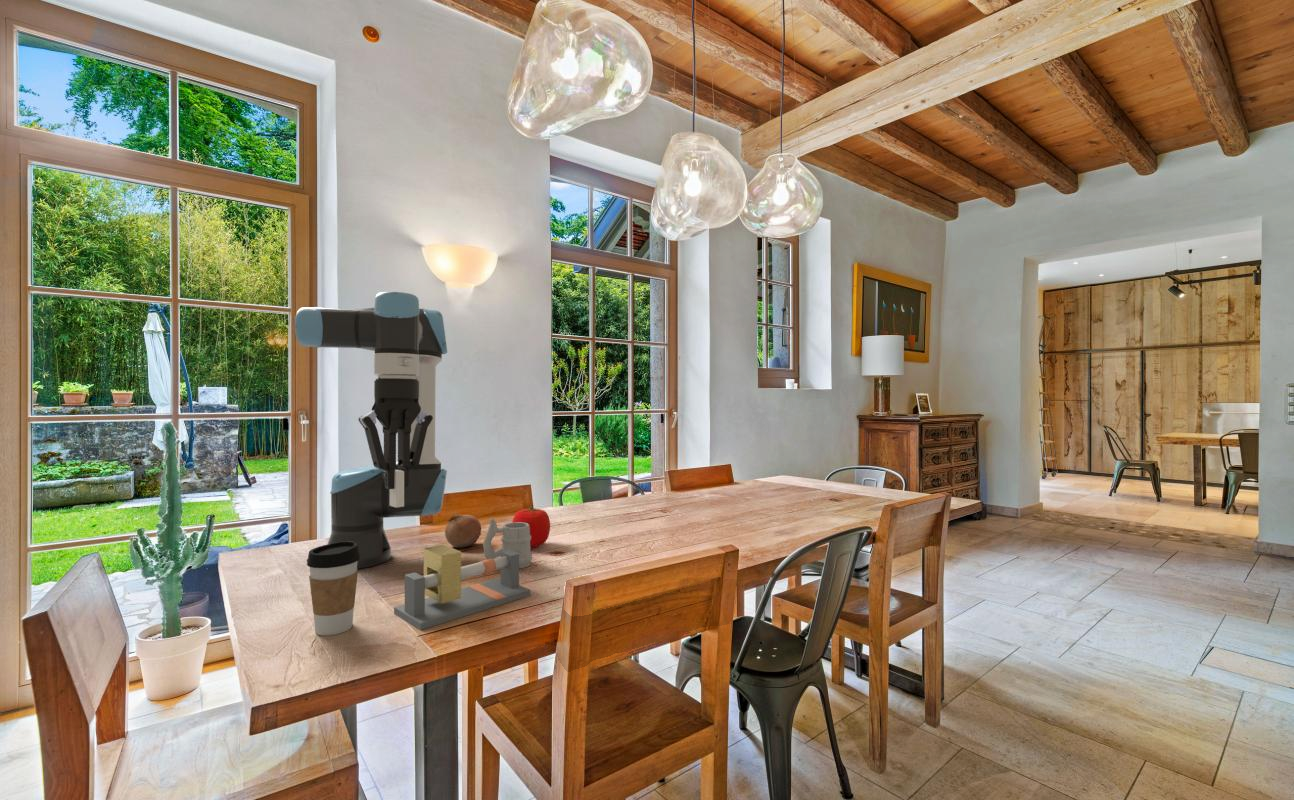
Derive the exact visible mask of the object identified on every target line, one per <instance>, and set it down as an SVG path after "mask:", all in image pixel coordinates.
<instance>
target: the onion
mask: <svg viewBox="0 0 1294 800" xmlns="http://www.w3.org/2000/svg"><path fill="white" fill-rule="evenodd" d="M446 522H447V524H446V526H445V531H444V535H445V539H446V541H447V542H448V543H449V545H451V546H452V547H454V548H455V549H456V548H457V549H460V548H461V549H463V548H470V547H472V546H474V545H475V544H476V543H477V542H478V540H479V538H480V536H481V534H482V525H481V522H480V520H479V519H478V518H477V517H476V516H474V515H472V514H455V515H453V516H451V517H450V519H448V520H447V521H446Z"/></svg>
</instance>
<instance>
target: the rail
mask: <svg viewBox="0 0 1294 800" xmlns="http://www.w3.org/2000/svg"><path fill="white" fill-rule="evenodd" d="M499 570H500V577H499V578H496V579H491V580H487V581H483V582H480V583H476V584H471V585H468V586H466V587H461V598H460V599H456V600H453V601H450V602H446V603H443V604H441V603H439V602H437V601H435V600H433V599H432V598H430V597H426V595H425V589H427V588H430V587H434V586H438V573H434V574H430V575H426V576H424V575H421V574H419V573H417V572H411V573H407V574H404V604H400V605H397V606H396V605H395V606H394V607H393V613H394V614H395V616H398V617H400V618H401V619H403V620H404V621H405V622H407V623H408V624H410V625H411V626H413V627H415V628H416V629H417V630H420V631H422V630H425V629H428V628H431V627H435V626H437V625H440V624H441V625H442V624H444V623H447V622H451V621H454V620H457V619H460V618H464V617H466V616H469V615H472V614H476V613H478V612H482V611H485V610H488V609H493V608H494V607H498V606H501V605H505V604H506V603H507V604H508V603H510V602H514V601H517V600H521V599H524V598H526V597H530V596H531V594H532V593H531V592H532V590H531V589H530V588H527V587H525V586H523V585H520V568H519V554H518V553H515V552H512V551H510V550H507V551H503V552H501V556H499V557H497V558H495V559H492V558H491V559H484V560H480V561H479V562H475V563H472V564H468V565H464V566H461V580H464V579H468V578H472V577H475V576H478V575H479V576H480V575H487V574H491V573H494V572H495V571H499ZM425 597H426V598H425Z"/></svg>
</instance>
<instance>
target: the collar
mask: <svg viewBox="0 0 1294 800" xmlns="http://www.w3.org/2000/svg"><path fill="white" fill-rule="evenodd" d="M461 567H462V551H460V550H458V549H456V548H452V547H450V546H448V545H446V544H438V545H434V546H428V547H424V548H423V576H426V575H430V574H434V573H438V586H434V587H430V588H427V589H425V597H427V598H429V597H430V598H432V599H433V600H435V601H437V602H439V603H441V604H443V603H446V602H450V601H453V600H456V599H460V598H461V589H462V579H461Z"/></svg>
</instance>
